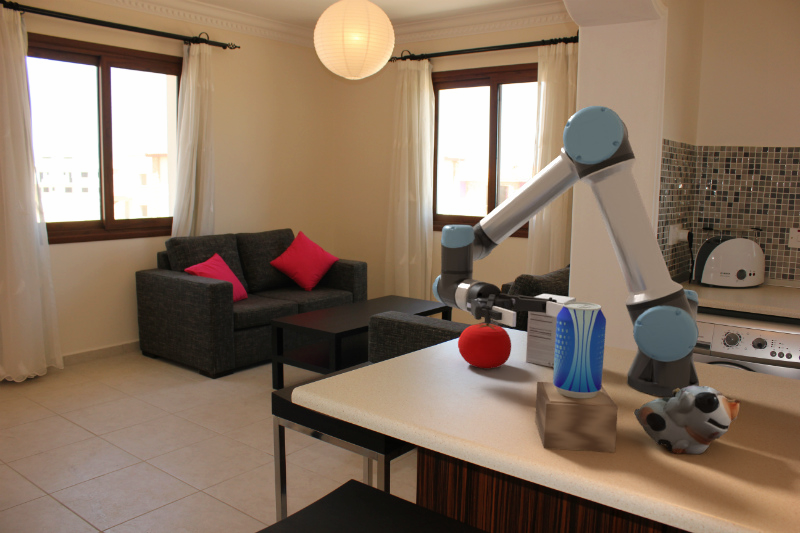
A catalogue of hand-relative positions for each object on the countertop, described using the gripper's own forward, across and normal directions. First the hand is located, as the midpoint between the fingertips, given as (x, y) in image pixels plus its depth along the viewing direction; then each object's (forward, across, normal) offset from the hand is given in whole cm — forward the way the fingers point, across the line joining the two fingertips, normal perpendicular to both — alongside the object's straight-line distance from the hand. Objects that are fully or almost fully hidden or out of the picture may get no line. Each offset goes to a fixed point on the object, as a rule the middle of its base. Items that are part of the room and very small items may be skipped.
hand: (542, 316), depth 119 cm
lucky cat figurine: (+20, -16, -21) cm, 33 cm away
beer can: (+10, 0, -12) cm, 16 cm away
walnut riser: (+10, 0, -20) cm, 23 cm away
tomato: (-33, -10, -20) cm, 40 cm away
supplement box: (-30, -28, -20) cm, 46 cm away
